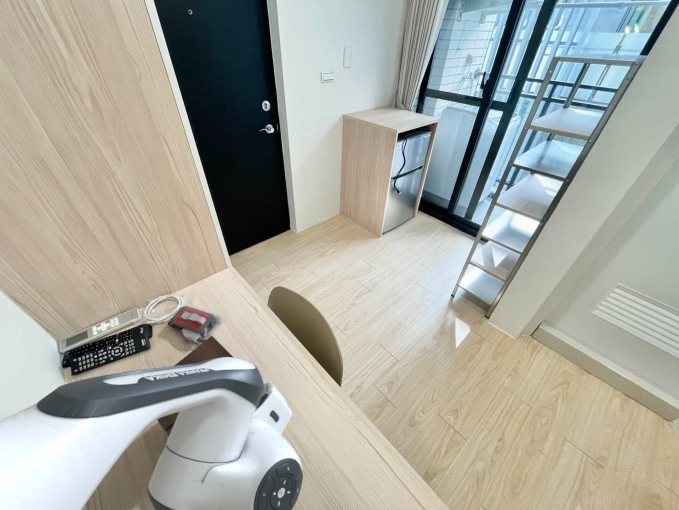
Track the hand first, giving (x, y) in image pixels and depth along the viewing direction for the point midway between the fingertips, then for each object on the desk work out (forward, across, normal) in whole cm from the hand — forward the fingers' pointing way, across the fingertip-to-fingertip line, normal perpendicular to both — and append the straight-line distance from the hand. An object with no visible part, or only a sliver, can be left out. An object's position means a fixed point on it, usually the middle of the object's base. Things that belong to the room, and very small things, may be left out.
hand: (228, 420), depth 57 cm
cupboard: (+12, 0, +1) cm, 12 cm away
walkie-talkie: (+26, +9, +16) cm, 32 cm away
